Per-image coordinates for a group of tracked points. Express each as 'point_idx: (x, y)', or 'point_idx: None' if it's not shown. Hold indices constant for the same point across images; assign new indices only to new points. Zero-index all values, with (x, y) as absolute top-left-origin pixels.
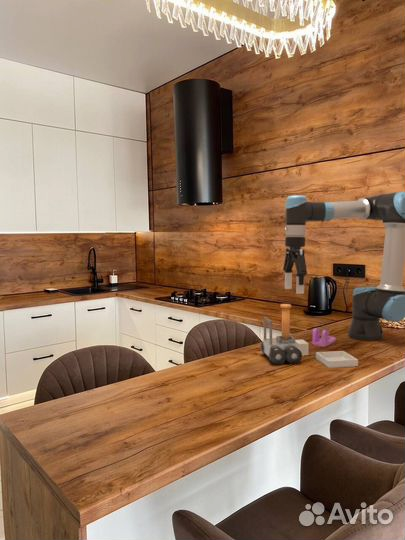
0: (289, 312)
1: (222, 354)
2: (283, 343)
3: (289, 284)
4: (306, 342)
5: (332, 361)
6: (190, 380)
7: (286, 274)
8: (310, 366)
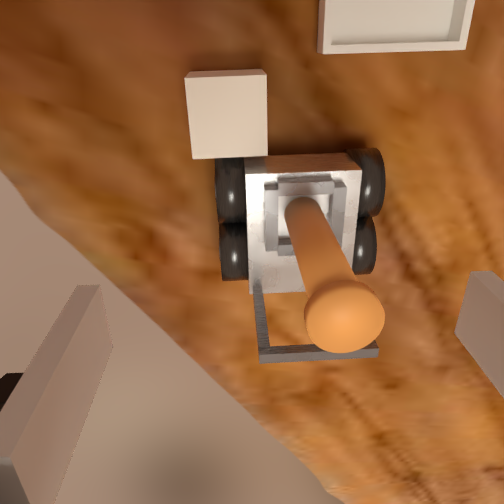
0: (352, 275)
1: (207, 368)
2: (343, 234)
3: (89, 342)
4: (247, 79)
5: (468, 27)
6: (406, 440)
7: (49, 498)
8: (405, 117)
